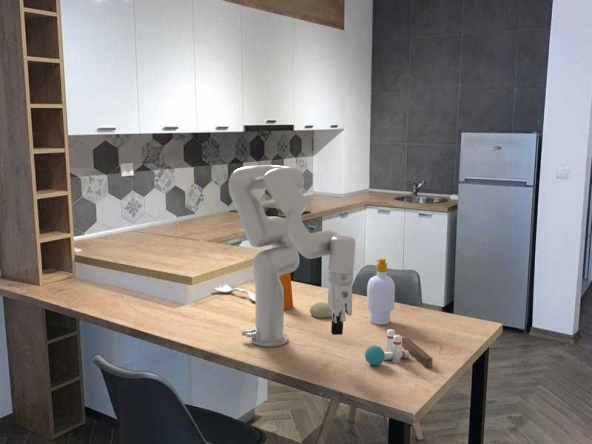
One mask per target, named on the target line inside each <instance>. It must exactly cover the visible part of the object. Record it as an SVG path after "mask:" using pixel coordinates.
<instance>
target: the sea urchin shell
mask: <svg viewBox="0 0 592 444" xmlns="http://www.w3.org/2000/svg"><path fill="white" fill-rule="evenodd" d="M309 312H310V315H312V316H313V317H314V318H317V319H329V318H332V311H331V309H330V308H329V306H328V302H316V303H314V304H312V305H311V307H310V309H309Z"/></svg>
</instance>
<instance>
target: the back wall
mask: <svg viewBox="0 0 592 444" xmlns="http://www.w3.org/2000/svg"><path fill="white" fill-rule="evenodd" d="M401 348H403V350H408V351H409V355H411V356H412V357H413V358H414V360H416V361H417V362H418V363H420V364H421V365H422V366H423V367H424V368H425V369H432V368H433V362H434V361H433V360H434V359H433V357H431V356H430V355H429V354H428V353H427V352H426V351H424V350H423V349H422V348H421V347H420V346H419V345H417V344H416V343H415V342H414V341H413V340H411V339H410V338H409V337H401Z"/></svg>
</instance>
